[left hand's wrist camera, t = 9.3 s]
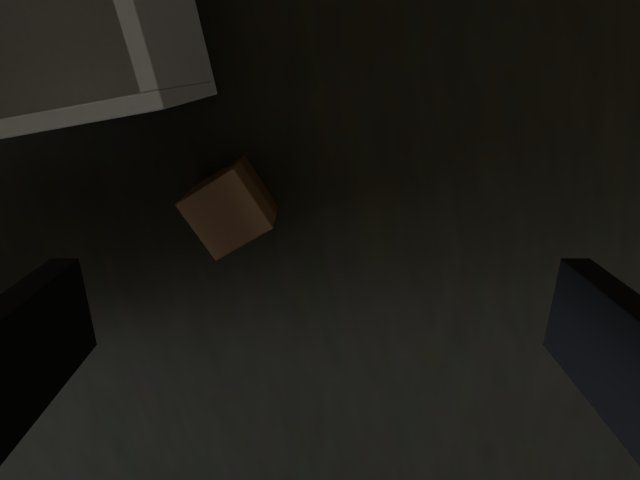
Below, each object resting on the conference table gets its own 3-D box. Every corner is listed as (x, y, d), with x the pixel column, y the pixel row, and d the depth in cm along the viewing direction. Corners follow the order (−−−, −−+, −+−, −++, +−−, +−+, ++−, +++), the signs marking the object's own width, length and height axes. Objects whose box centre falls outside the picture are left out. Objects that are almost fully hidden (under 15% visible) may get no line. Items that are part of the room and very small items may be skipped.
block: (244, 154, 29) (233, 168, 25) (279, 207, 30) (273, 228, 26) (192, 186, 30) (173, 204, 26) (228, 237, 31) (215, 261, 27)
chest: (172, -95, 24) (76, -199, 15) (217, 94, 28) (164, 109, 18) (-94, -39, 25) (-348, -103, 16) (-18, 137, 29) (-187, 173, 19)
